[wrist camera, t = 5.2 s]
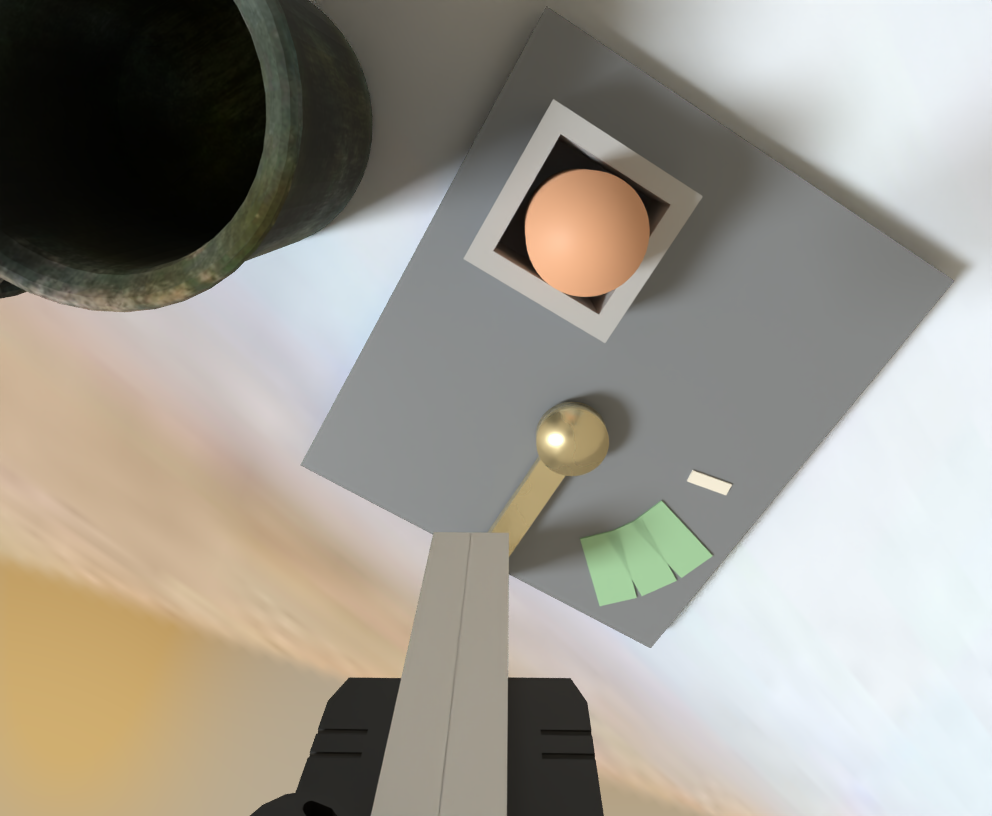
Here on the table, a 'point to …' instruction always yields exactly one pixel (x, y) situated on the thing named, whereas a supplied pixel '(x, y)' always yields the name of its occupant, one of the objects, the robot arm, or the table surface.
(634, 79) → the tuner board
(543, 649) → the table surface
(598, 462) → the brass ball-ended crank
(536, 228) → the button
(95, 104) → the mug
